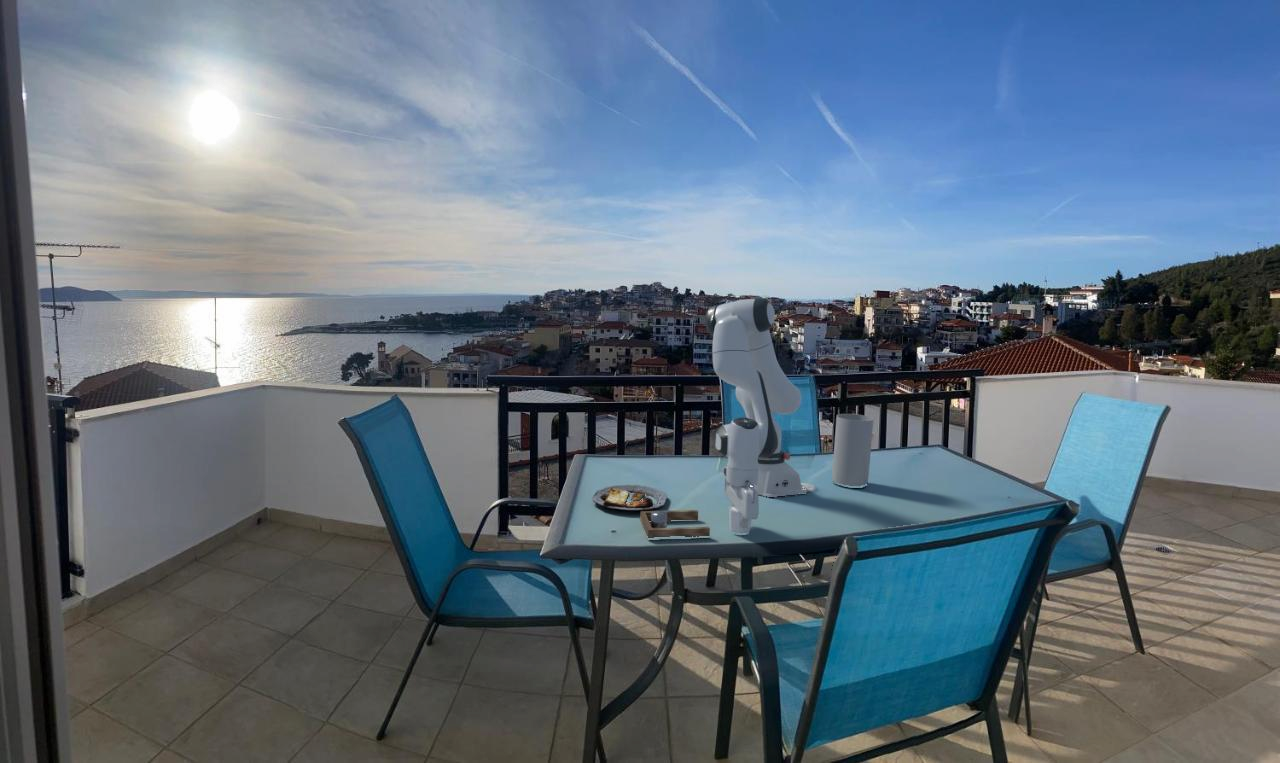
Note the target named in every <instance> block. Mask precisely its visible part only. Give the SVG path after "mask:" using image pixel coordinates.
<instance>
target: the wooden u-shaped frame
mask: <svg viewBox="0 0 1280 763" xmlns="http://www.w3.org/2000/svg"><path fill="white" fill-rule="evenodd" d="M653 511H654V510H640V514H639V515H640V516H639V517H640V519H639V520H640V521H641V522H640V521H639V522H640V523H642V524H641V526H642V525H643V527H642V529H643V528H644V529H643V531H644V530H645V532H646V534H647V536H648V538H654V537H670V536H685V537H692V536H693V537H696V536H697V537H699V536H710V535H711V534H710V533H711V532H710V531H711V528H710V526H692V527H691V526H688V527H685V526H684V527H681V526H680V527H667V528H652V527H651V522H649V521H651V512H653ZM664 511H665V512H666V513H667V521H671V520H698V521H699V510H698V509H687V510H685V509H679V510H677V509H676V510H664ZM645 532H644V533H645ZM646 534H645V535H646Z"/></svg>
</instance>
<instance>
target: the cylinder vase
mask: <svg viewBox="0 0 1280 763" xmlns="http://www.w3.org/2000/svg"><path fill="white" fill-rule="evenodd" d="M873 426H874V418H873V417H872V416H868V415H864V414H863V415H862V414H856V413H841V414H840V413H839V414H836V418H835V434H834V446H833V459H832V470H831V471H832V473H831V481H832V480H833V481H834V482H836V483H839V484H843V485H849V486H861V485H865V484H867V483H868V484H869V474H870V462H871V461H870V460H871V453H872V452H871V451H872V438H873V428H874V427H873Z"/></svg>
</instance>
